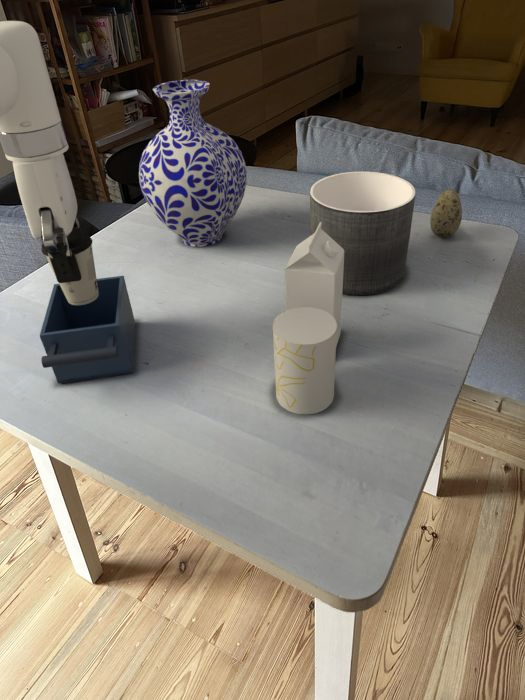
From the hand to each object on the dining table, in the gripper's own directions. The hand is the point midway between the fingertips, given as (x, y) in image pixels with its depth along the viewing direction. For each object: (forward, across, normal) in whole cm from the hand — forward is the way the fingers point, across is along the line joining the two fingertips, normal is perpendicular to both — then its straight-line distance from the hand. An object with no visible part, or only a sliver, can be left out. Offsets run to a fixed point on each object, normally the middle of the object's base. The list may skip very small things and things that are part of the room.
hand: (73, 266), depth 77 cm
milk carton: (+16, +6, +34) cm, 38 cm away
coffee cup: (+5, 0, 0) cm, 5 cm away
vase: (+16, -36, +19) cm, 44 cm away
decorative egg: (+16, -23, +68) cm, 73 cm away
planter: (+16, -14, +47) cm, 51 cm away
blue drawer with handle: (+15, +2, 0) cm, 15 cm away
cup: (+16, +17, +30) cm, 38 cm away
